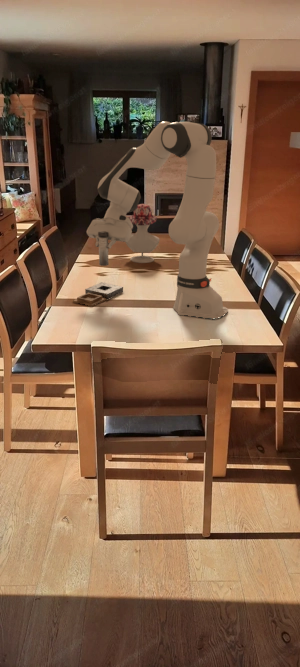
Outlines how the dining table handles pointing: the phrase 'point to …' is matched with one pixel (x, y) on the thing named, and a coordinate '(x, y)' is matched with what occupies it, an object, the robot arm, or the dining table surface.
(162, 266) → the dining table surface
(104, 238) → the lidded glass canister
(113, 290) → the socket block
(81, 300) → the square wooden tray
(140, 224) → the beige curvy piece
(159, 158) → the robot arm
